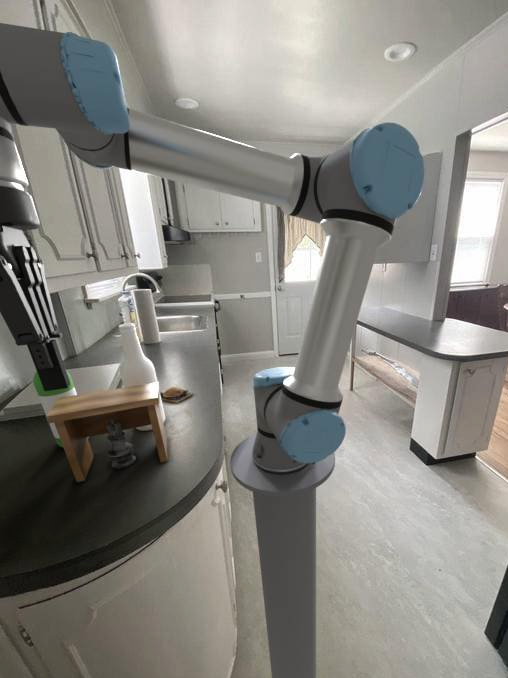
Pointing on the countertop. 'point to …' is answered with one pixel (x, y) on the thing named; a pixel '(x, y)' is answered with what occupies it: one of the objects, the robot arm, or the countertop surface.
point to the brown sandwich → (175, 394)
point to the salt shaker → (119, 446)
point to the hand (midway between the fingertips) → (58, 387)
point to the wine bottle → (52, 400)
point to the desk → (105, 420)
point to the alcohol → (136, 365)
